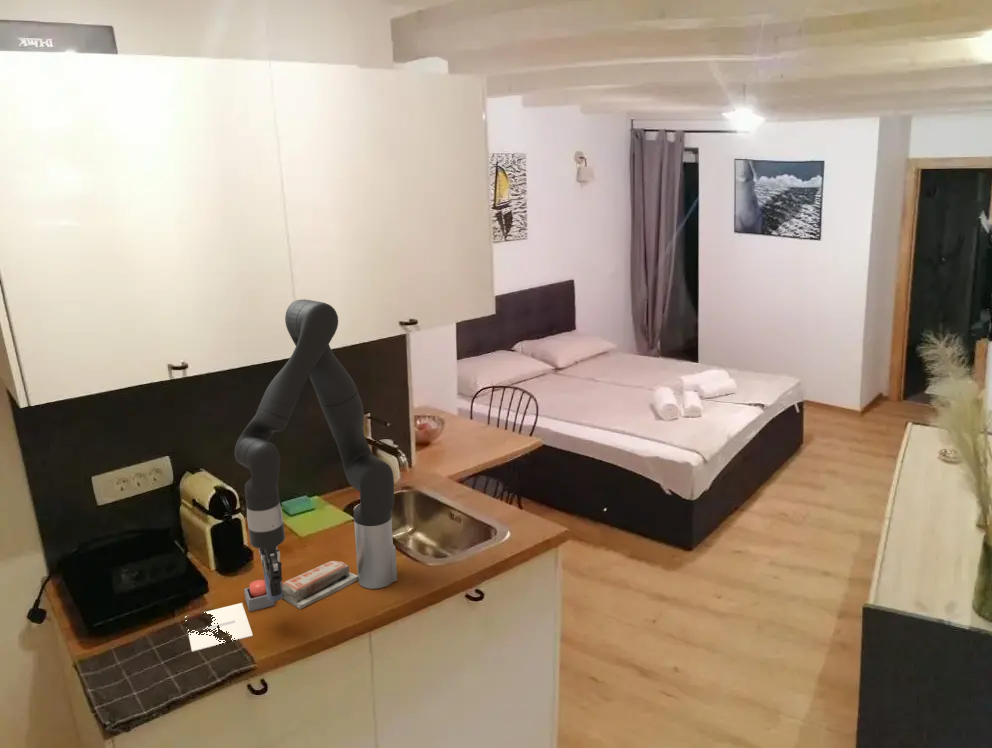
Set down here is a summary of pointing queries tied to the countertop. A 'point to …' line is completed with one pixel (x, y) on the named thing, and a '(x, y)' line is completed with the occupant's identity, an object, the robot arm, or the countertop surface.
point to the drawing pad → (222, 627)
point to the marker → (268, 592)
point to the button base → (257, 601)
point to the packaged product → (317, 583)
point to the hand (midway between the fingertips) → (274, 590)
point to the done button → (257, 588)
